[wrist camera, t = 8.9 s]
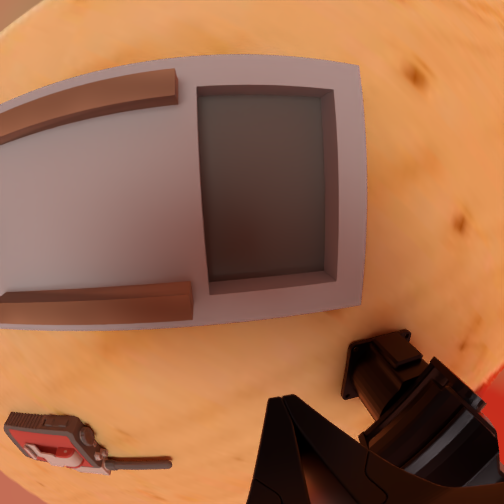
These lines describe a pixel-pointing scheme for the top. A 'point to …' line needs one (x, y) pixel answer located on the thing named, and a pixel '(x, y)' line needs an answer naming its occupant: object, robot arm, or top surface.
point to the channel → (102, 298)
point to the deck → (198, 192)
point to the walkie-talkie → (66, 444)
